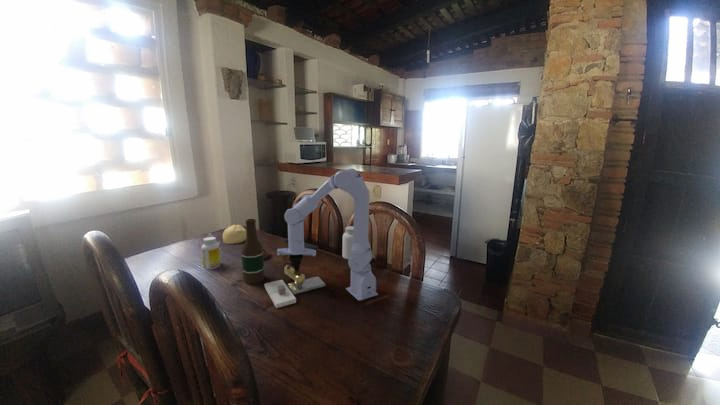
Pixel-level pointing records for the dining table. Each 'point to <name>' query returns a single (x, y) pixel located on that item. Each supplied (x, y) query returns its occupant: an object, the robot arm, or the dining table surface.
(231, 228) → the steamed bun
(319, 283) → the plate
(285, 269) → the latch arm
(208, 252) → the supplement bottle
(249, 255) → the beer bottle
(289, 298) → the door board
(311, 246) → the dark slate chunk
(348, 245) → the pill bottle
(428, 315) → the dining table surface
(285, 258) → the brown rounded lump
